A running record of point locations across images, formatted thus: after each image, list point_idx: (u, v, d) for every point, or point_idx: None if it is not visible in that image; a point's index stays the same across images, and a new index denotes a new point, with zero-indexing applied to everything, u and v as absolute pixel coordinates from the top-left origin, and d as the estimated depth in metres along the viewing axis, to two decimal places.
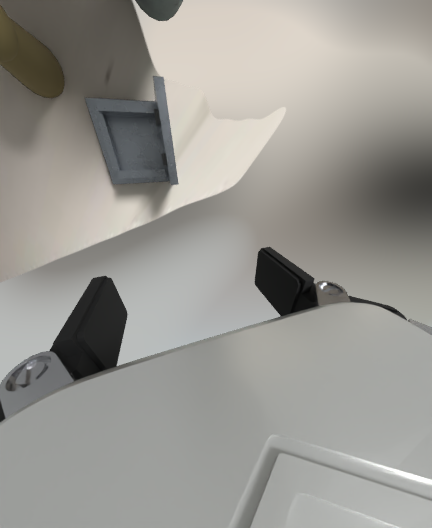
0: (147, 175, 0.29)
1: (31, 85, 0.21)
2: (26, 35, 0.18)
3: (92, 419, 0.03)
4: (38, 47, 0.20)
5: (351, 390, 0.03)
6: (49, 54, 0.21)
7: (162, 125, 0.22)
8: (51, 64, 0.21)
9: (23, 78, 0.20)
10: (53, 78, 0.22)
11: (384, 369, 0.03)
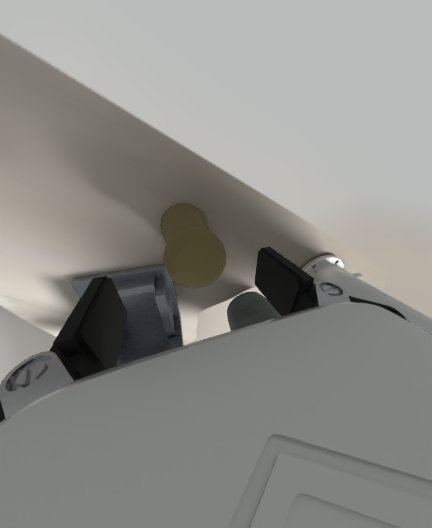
0: None
1: (163, 233, 0.18)
2: None
3: (92, 419, 0.03)
4: None
5: (351, 390, 0.03)
6: None
7: None
8: None
9: (165, 237, 0.17)
10: None
11: (384, 369, 0.03)
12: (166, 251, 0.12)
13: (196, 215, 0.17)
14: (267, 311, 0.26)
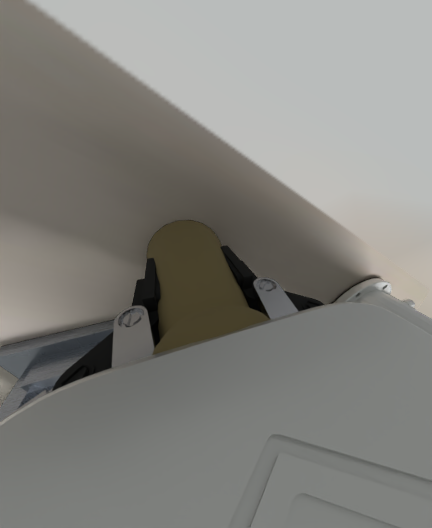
0: None
1: None
2: None
3: (92, 419, 0.03)
4: None
5: (351, 390, 0.03)
6: None
7: None
8: None
9: None
10: None
11: (384, 369, 0.03)
12: None
13: (211, 247, 0.09)
14: None
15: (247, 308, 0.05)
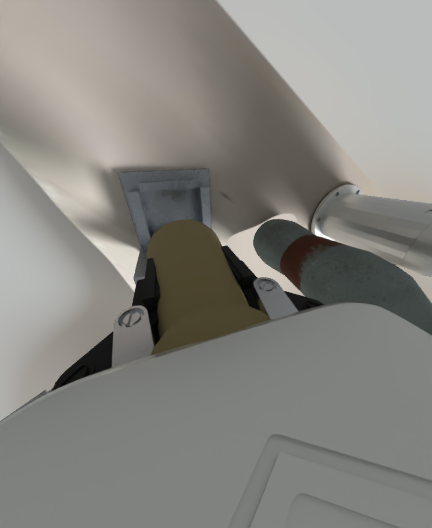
0: (141, 231, 0.21)
1: None
2: None
3: (92, 419, 0.03)
4: None
5: (351, 390, 0.03)
6: None
7: None
8: None
9: None
10: None
11: (384, 369, 0.03)
12: None
13: (211, 246, 0.09)
14: (297, 225, 0.27)
15: (247, 307, 0.05)
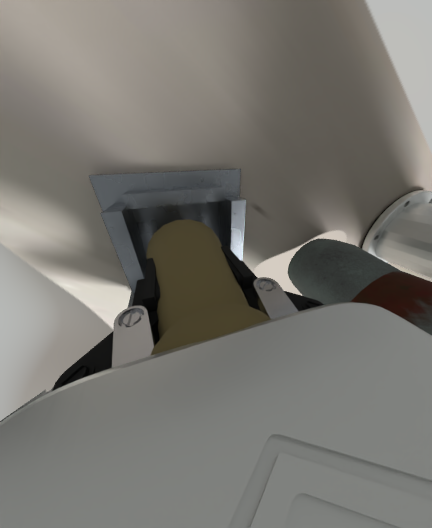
0: (129, 274, 0.12)
1: None
2: None
3: (92, 419, 0.03)
4: None
5: (351, 390, 0.03)
6: None
7: None
8: None
9: None
10: None
11: (384, 369, 0.03)
12: None
13: (211, 246, 0.09)
14: (365, 252, 0.18)
15: (247, 307, 0.05)
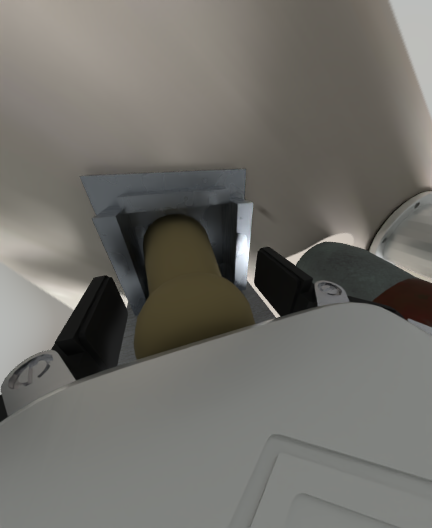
0: (126, 284, 0.11)
1: None
2: None
3: (92, 419, 0.03)
4: None
5: (351, 390, 0.03)
6: None
7: None
8: None
9: None
10: None
11: (384, 369, 0.03)
12: (136, 335, 0.06)
13: (195, 235, 0.11)
14: (376, 257, 0.17)
15: (213, 274, 0.07)
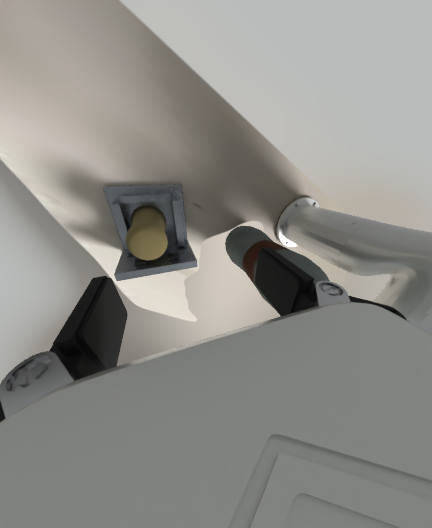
0: (122, 235, 0.25)
1: None
2: None
3: (92, 419, 0.03)
4: None
5: (351, 390, 0.03)
6: None
7: (167, 266, 0.25)
8: None
9: None
10: None
11: (384, 369, 0.03)
12: (126, 236, 0.20)
13: (153, 213, 0.25)
14: (258, 232, 0.32)
15: (152, 223, 0.21)
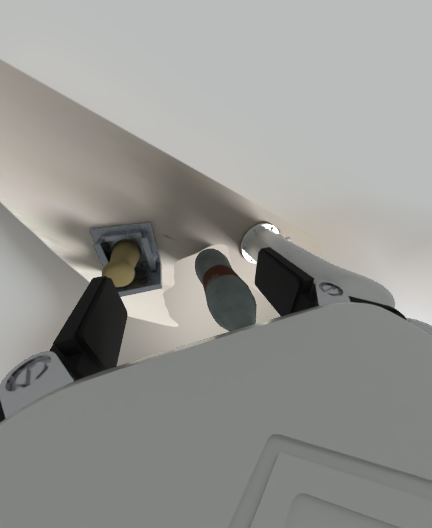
0: (104, 265, 0.33)
1: None
2: None
3: (92, 419, 0.03)
4: None
5: (351, 390, 0.03)
6: None
7: (137, 289, 0.32)
8: None
9: None
10: None
11: (384, 369, 0.03)
12: (102, 271, 0.28)
13: (127, 248, 0.33)
14: (217, 256, 0.39)
15: (122, 259, 0.29)
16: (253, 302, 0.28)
